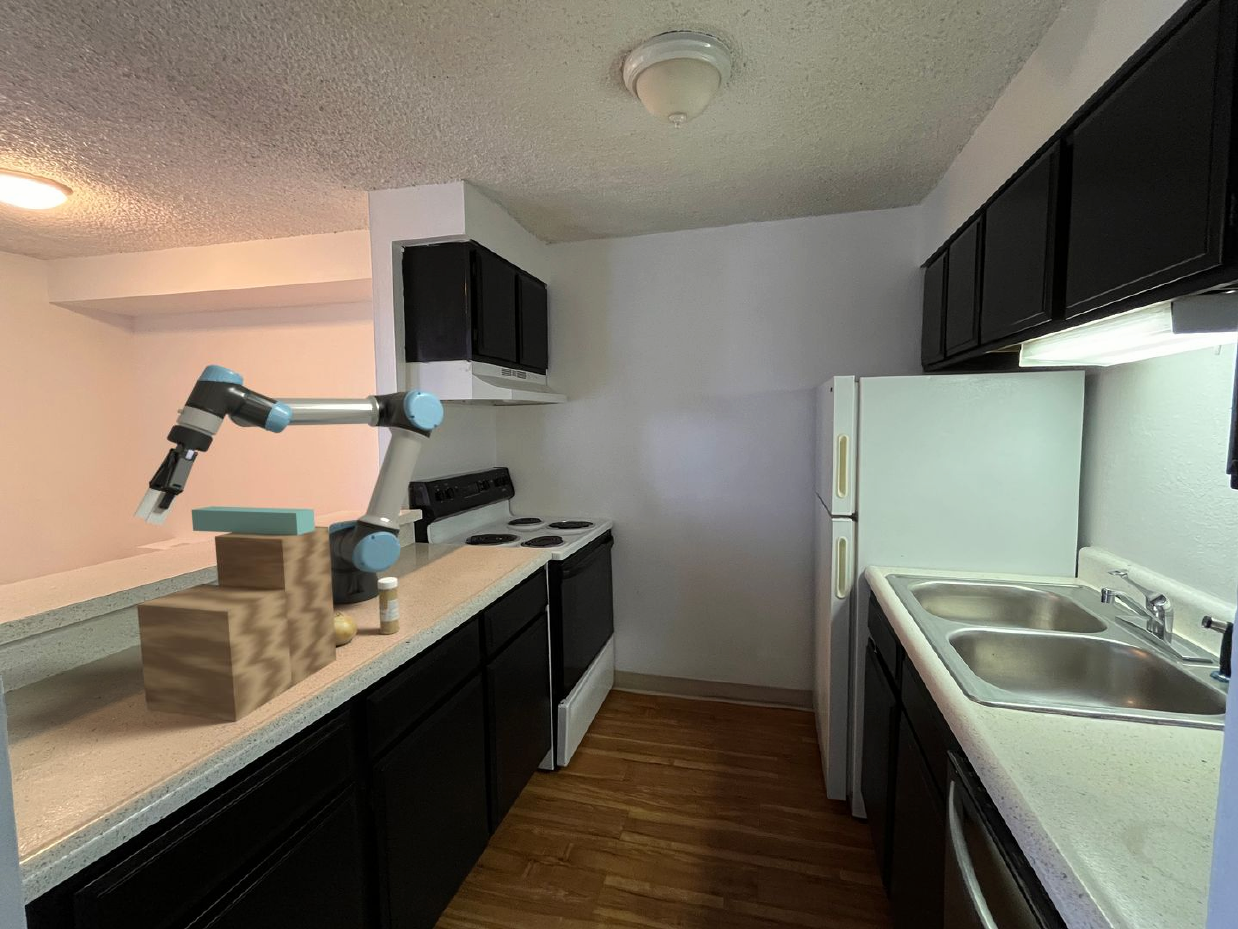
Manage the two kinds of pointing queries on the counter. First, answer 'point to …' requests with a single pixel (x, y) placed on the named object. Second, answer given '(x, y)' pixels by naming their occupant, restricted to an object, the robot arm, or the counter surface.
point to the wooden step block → (241, 627)
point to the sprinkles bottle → (388, 605)
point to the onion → (344, 628)
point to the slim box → (253, 520)
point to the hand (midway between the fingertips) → (147, 520)
